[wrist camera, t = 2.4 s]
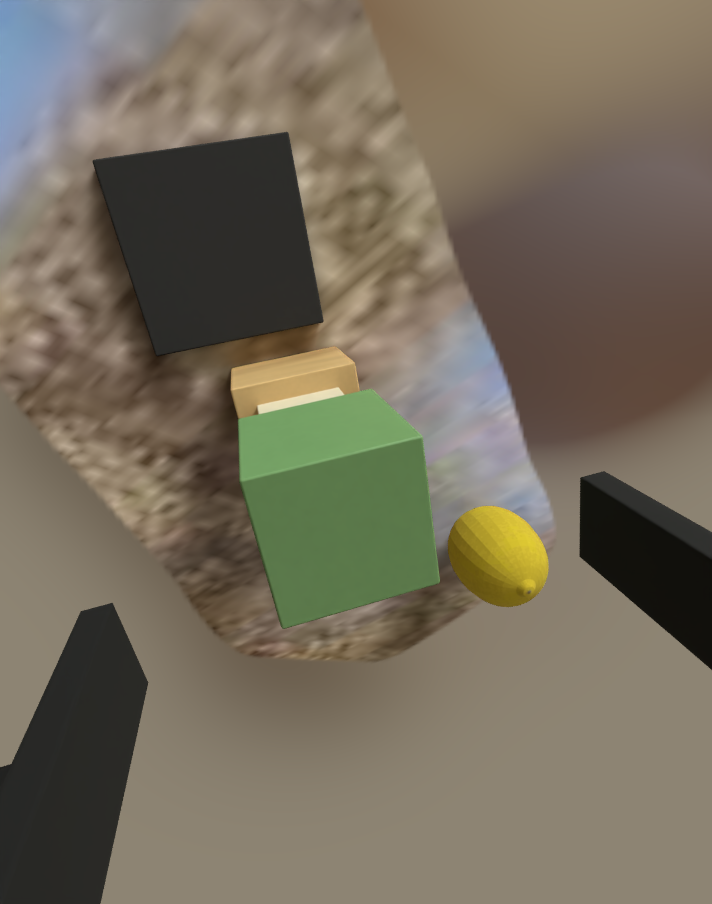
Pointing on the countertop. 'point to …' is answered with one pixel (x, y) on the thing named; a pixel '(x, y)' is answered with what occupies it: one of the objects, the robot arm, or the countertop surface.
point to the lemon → (498, 556)
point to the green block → (337, 504)
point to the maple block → (291, 378)
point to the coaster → (213, 240)
